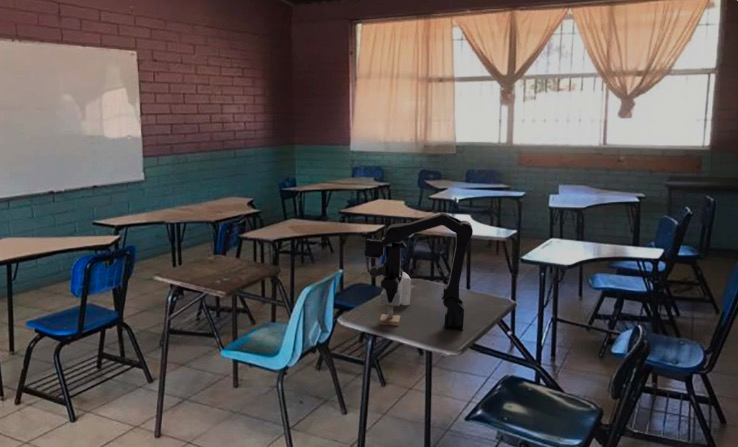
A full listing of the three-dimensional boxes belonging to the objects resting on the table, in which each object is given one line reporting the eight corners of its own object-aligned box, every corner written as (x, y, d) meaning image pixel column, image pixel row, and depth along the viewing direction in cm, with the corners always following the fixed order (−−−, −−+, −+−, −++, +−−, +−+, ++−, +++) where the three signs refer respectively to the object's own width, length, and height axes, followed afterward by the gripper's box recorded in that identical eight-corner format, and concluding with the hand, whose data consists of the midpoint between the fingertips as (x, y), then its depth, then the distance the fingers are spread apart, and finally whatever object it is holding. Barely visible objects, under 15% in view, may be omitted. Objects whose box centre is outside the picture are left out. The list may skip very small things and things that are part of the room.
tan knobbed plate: (400, 319, 237) (400, 304, 235) (398, 325, 230) (398, 310, 229) (381, 317, 238) (382, 302, 236) (379, 324, 231) (380, 308, 230)
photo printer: (411, 305, 254) (412, 275, 251) (401, 305, 252) (402, 276, 250) (402, 297, 263) (404, 269, 261) (392, 297, 262) (394, 269, 259)
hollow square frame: (401, 300, 235) (401, 289, 234) (399, 305, 228) (399, 295, 227) (382, 298, 236) (383, 288, 235) (380, 304, 229) (380, 293, 228)
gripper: (374, 251, 239) (373, 290, 242) (367, 263, 221) (365, 305, 224) (403, 253, 237) (402, 292, 241) (398, 266, 219) (396, 308, 222)
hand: (391, 299), depth 232 cm, fingers closed on hollow square frame, 7 cm apart
